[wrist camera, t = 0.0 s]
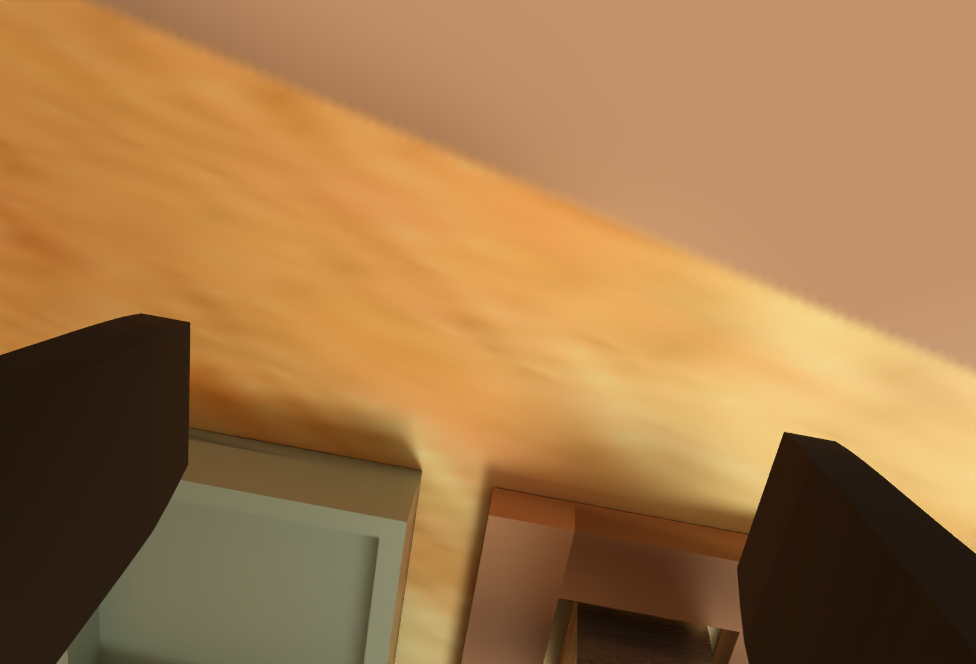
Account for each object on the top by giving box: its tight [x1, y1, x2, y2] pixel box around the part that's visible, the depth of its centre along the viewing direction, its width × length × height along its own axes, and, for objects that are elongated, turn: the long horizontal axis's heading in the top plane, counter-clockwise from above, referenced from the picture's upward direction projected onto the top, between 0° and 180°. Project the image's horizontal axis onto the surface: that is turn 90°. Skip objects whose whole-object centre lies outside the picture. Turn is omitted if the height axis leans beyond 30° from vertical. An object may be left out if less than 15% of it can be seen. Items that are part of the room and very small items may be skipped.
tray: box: [56, 428, 422, 664], centre depth 24 cm, size 9×9×2 cm
